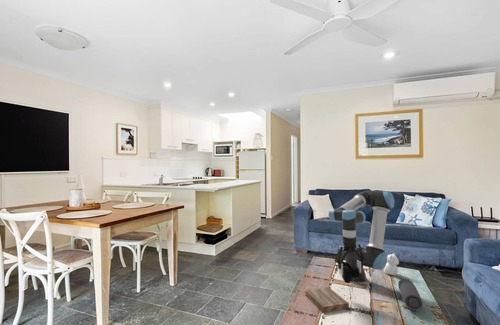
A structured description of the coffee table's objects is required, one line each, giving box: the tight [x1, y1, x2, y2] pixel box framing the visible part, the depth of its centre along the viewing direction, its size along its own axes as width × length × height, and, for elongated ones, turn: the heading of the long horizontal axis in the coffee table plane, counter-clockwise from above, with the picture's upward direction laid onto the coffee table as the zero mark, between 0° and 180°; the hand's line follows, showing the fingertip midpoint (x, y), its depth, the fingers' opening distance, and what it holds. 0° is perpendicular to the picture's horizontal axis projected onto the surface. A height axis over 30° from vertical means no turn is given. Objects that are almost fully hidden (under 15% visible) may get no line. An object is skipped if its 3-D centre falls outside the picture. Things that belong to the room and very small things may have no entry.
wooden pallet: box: [305, 286, 350, 314], centre depth 148 cm, size 16×20×3 cm
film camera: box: [341, 261, 359, 284], centre depth 152 cm, size 15×10×9 cm, turn 170°
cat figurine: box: [382, 252, 400, 276], centre depth 189 cm, size 9×12×15 cm
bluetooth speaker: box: [397, 277, 423, 311], centre depth 147 cm, size 23×9×10 cm, turn 157°
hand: (350, 273), depth 151 cm, fingers closed on film camera, 12 cm apart
